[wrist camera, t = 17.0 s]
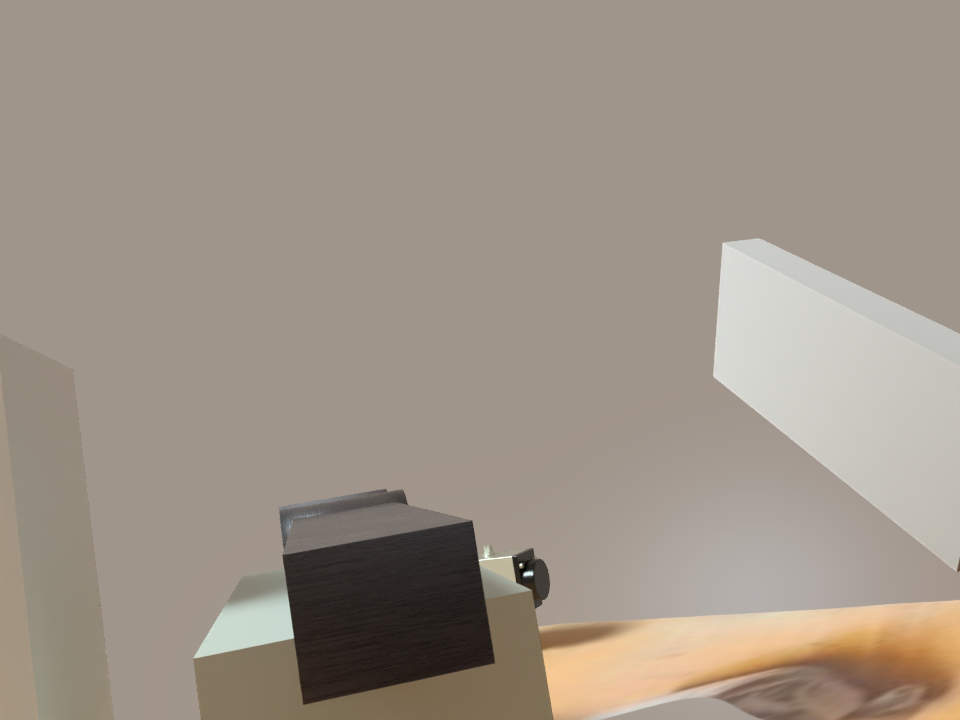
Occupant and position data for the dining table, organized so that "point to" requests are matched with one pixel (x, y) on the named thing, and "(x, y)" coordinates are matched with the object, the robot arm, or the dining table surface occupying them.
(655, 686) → the dining table surface
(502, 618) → the grey-green rectangular block
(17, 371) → the taupe rectangular block
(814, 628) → the dining table surface
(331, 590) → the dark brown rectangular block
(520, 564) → the pneumatic valve
